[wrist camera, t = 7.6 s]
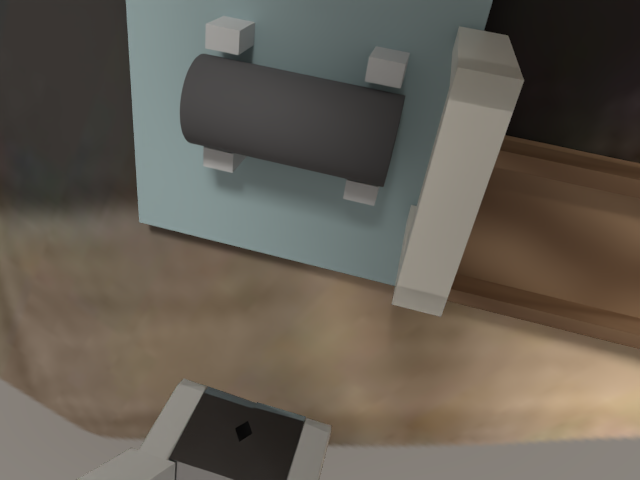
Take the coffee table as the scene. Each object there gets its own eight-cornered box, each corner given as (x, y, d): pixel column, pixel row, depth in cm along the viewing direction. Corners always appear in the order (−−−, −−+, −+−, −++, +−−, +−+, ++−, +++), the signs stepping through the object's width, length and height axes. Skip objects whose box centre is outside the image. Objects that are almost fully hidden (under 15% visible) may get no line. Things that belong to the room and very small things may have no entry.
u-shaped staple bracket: (459, 26, 22) (457, 67, 16) (508, 35, 22) (524, 80, 16) (406, 221, 27) (391, 304, 21) (445, 231, 27) (440, 317, 21)
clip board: (129, -155, 22) (87, -163, 20) (517, -91, 20) (525, -92, 18) (147, 213, 32) (121, 239, 30) (409, 278, 30) (404, 311, 28)
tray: (479, 129, 25) (481, 146, 23) (788, 195, 23) (815, 218, 22) (433, 274, 30) (431, 296, 28) (687, 336, 28) (702, 364, 26)
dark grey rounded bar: (217, 44, 25) (179, 66, 21) (408, 83, 24) (399, 113, 20) (215, 125, 27) (180, 157, 24) (390, 164, 26) (379, 203, 23)
